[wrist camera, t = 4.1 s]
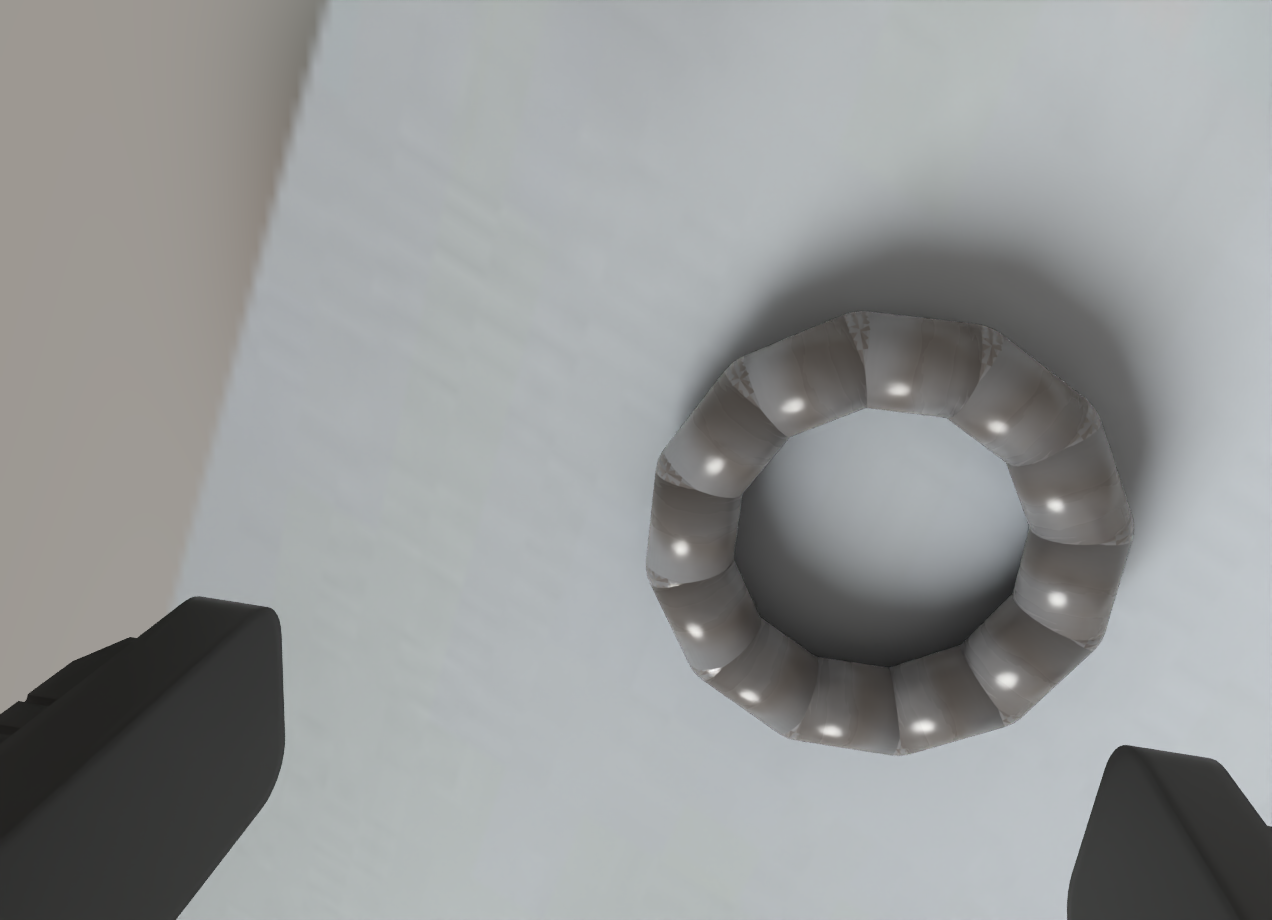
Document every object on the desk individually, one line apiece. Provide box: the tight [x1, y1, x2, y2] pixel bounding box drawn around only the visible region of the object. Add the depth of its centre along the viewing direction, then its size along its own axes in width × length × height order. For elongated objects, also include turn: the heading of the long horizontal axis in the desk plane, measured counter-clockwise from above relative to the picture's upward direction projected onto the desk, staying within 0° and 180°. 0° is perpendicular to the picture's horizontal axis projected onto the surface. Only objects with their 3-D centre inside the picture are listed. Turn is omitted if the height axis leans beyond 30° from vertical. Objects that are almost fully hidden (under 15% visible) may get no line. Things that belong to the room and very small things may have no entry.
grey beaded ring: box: [646, 311, 1134, 756], centre depth 15 cm, size 7×7×1 cm
